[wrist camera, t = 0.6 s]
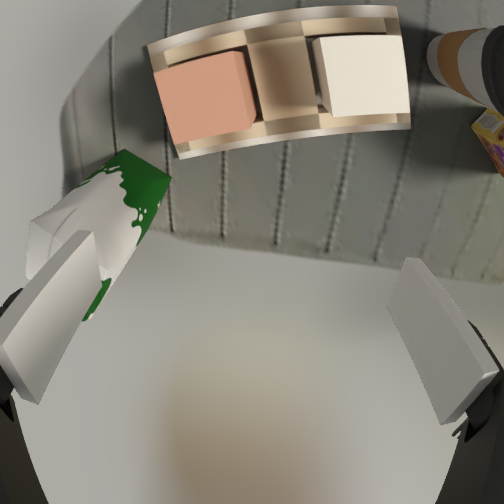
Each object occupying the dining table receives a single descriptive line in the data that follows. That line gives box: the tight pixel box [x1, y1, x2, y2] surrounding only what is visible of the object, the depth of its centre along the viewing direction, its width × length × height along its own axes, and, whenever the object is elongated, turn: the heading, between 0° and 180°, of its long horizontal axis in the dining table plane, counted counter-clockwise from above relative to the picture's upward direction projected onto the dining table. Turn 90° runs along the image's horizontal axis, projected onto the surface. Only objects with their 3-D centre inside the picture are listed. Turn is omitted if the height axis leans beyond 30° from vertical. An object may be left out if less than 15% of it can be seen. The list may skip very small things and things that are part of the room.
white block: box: [311, 35, 410, 117], centre depth 21 cm, size 6×6×7 cm
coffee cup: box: [427, 25, 504, 117], centre depth 18 cm, size 8×8×15 cm
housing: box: [147, 5, 411, 160], centre depth 25 cm, size 26×14×6 cm, turn 102°
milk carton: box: [26, 149, 172, 322], centre depth 29 cm, size 9×9×20 cm
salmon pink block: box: [153, 51, 258, 145], centre depth 23 cm, size 6×6×7 cm
